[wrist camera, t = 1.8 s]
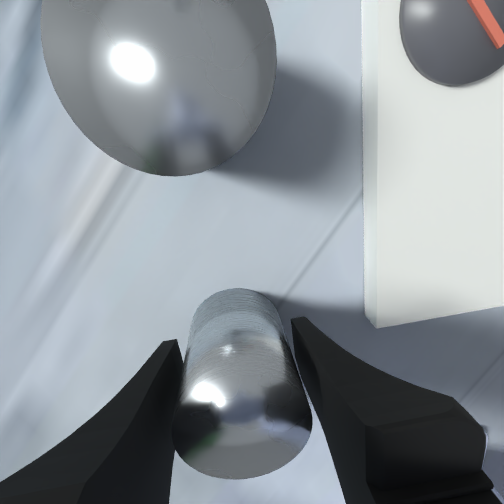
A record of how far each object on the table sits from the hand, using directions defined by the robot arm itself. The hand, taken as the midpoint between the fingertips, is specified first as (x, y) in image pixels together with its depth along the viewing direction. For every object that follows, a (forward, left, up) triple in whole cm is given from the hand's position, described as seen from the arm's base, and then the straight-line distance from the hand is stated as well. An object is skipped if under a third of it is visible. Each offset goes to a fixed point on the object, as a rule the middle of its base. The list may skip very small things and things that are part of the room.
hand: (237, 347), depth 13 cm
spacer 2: (0, 0, -2) cm, 2 cm away
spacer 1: (+10, 0, -2) cm, 10 cm away
